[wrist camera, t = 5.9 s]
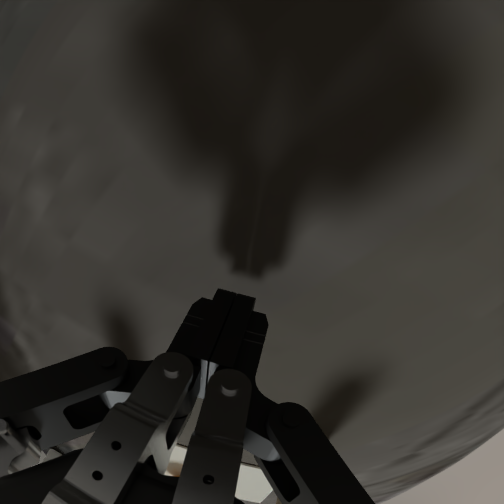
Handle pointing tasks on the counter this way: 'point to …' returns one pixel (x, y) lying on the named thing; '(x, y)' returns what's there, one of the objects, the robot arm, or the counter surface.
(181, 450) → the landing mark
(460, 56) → the counter surface
